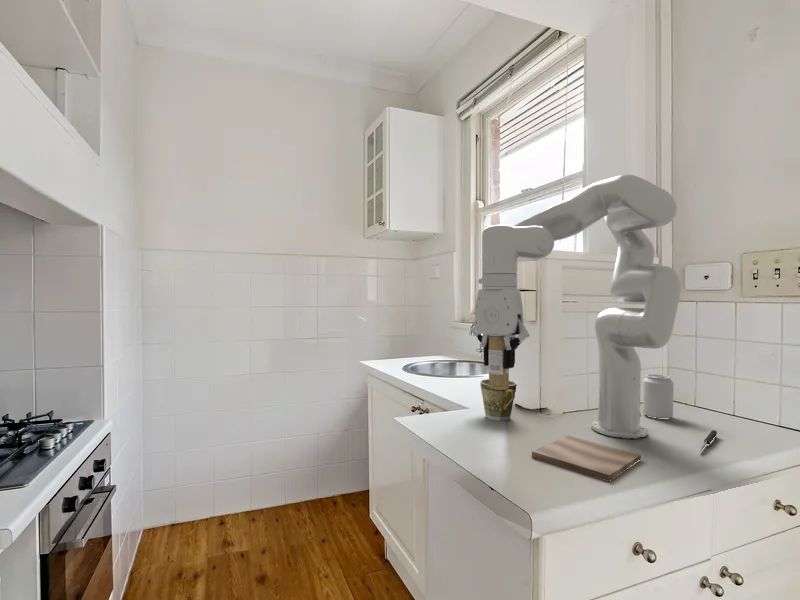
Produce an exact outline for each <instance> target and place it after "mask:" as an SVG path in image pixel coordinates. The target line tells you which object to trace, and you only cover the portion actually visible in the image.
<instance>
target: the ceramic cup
mask: <svg viewBox="0 0 800 600" xmlns="http://www.w3.org/2000/svg"><path fill="white" fill-rule="evenodd" d="M488 385H489V378H488V379H482V380H481V381H480V391H481V396H482V402H483V409H484V415H485V417H486V418H487V419H488V420H490V421H498V422H505V421H508V420H510V419H511V415H512V411H513V410H512V409H513V405H514V401H515V392H516V386H517V382H515V381H513V380H509V388H508V389H505V390H497V389H492V388H489V386H488Z"/></svg>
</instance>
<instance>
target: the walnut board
mask: <svg viewBox="0 0 800 600" xmlns="http://www.w3.org/2000/svg"><path fill="white" fill-rule="evenodd" d="M531 458H534V459H537V460H540V461H544V462H546V463H550V464H552V465H556V466H560V467H562V468H565V469H568V470H572V471H575V472H578V473H582V474H583V475H587V476H590V477H594V478H596V477H597V479H600V478H601V479H600V480H603V479H604V481H606V480H608V481H607V482H609V481H610V480H611V481H612V479H613V478H614V477H616V476H617V475H618V474H620V473H621V472H623V471H624V470H626V469H627V468H629V467H630V466H631V465H633V464H634V463H635V462H637V461H638V460H640V459H641V460H642V454H641V453H637V452H633V451H628V450H624V449H620V448H619V447H613V446H610V445H609V446H608V445H606V444H602V443H598V442H594V441H589V440H587V439H582V438H578V437H574V436H572V435H571V436H570V435H566V436H564V437H561V438H560V439H557V440H555V441H553V442H550V443H548V444H546V445H543V446H541V447H539V448H536V449H534V450H532V451H531ZM633 466H634V465H633ZM629 469H630V468H629ZM626 471H627V470H626ZM623 473H624V472H623ZM620 475H621V474H620ZM617 477H618V476H617ZM617 477H616V478H617ZM614 479H615V478H614ZM614 479H613V480H614ZM611 481H610V482H611Z"/></svg>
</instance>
